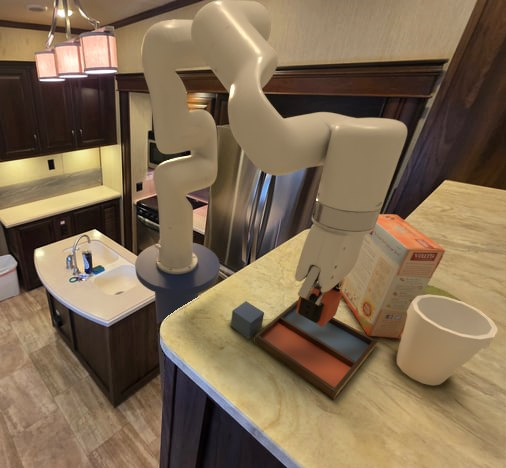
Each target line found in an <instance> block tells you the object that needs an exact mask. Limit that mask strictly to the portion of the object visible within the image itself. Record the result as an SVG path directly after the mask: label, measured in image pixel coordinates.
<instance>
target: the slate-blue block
mask: <svg viewBox="0 0 506 468" xmlns="http://www.w3.org/2000/svg"><path fill="white" fill-rule="evenodd" d="M264 316H265V312H264V311H263V310H262V309H260V308H259V307H256V306H255V305H253V304H252V303H250V302H248V301H246V300H245V301H244V302H242V303H240V304H239V305H238V306H237V307H235V308H233V310H232V311H231V322H230V327H231V328H233V329H235V330H236V331H237V332H239V333H240V334H241V335H242V336H244V337H245V338H247V339H250V338H251V337H253V335H256V334H257V333H258V332H259V331H261V330H262V329H263V328H262V327H263V321H264Z"/></svg>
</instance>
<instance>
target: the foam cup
mask: <svg viewBox="0 0 506 468" xmlns="http://www.w3.org/2000/svg"><path fill="white" fill-rule="evenodd" d="M498 331H499V329H498V327H497V326H496V324H495V322H494V320H493V319H492V318H490V317H489V316H488V315H487V314H485V313H484V312H483V311H481V310H480V309H478V308H476V307H474V306H472V305H470V304H468V303H466V302H463V301H462V300H460V301H458V300H455V299H452V298H448V297H445V296H438V295H430V294H427V295H421V296H417V297H416V298H415V299H414V300H413V301H412V302H411V304H410V306H409V308H408V310H407V319H406V323H405V327H404V330H403V332H402V334H401V337H400V342H399V345H398V349H397V354H396V358H395V361H396V365H397V367H398V368H399V369H400V370H401V372H402V373H404V374H405V375H406V376H408V378H410V379H412V380H414V381H416V382H419V383H421V384H425V385H428V386H439V385H442V384H443V383H444V382H446V381H447V380H448V379H449V378H450V377H452V376H453V374H455V373H456V372H457V371H458V370H459V369H460V368H461V367H463V366H464V365H465V364H466V363H467V362H469V361H470V360H471V359H473V357H474V356H476V355H477V354H478V353H479V352H480V351H481V350H483V349H486V348H487V347H488V346H489V344H490V343H491V342H492V340H493V339H494V337H495V336H496V334H497V333H498Z"/></svg>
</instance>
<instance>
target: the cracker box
mask: <svg viewBox="0 0 506 468" xmlns="http://www.w3.org/2000/svg"><path fill="white" fill-rule="evenodd" d="M446 251H447V250H446V249H445V248H443V247H442V246H441V245H440V244H438V243H436V242H435V241H434V240H432V239H431V238H429V236H427V235H425V234H424V233H423V232H421V231H420V230H418V229H417V228H416V227H414V226H413V225H411V224H410V223H409V222H407V221H406V220H405V219H403V218H402V217H400V216H399V215H398V214H393V213H390V214H389V213H385V214H384V213H380V214H379V217H378V219H377V222H376V225H375V228H374V230H373V231H372V232H370V233H368V234H365V236H364V240H363V243H362V247H361V250H360V253H359V256H358V259H357V261H356V263H355V266H354V268H353V269H352V271H351V272H350V273H349V274H348V275H347V276H346V277H345V278H344V280H343V283H342V285H341V287H340V288H339V289H340V292H339V293H342V297H343V299H344V301H345V302H346V303H347V306H348V307H349V308H350V310H351V311H352V313H353V315H354V317H355V318H356V320H357V321H358V323H359V324H360V325H361V327H362V329H363V331H364V332H365V333H366V335H367V336H369V337H377V338H387V339H388V338H389V339H397V340H398V339H401V337H402V334H403V330H404V327H405V323H406V319H407V310H408V308H409V306H410V304H411V302H412V301H413V300H414V299H415V298H416V297H417V296H421V295H423V293H424V291H425V289H426V287H427V285H429V284H430V281H431V279H432V278H433V276H434V274H435V272H436V271H437V268H438V266H439V265H440V263H441V261H442V259H443V258H444V255H445V253H446Z"/></svg>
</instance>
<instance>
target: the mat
mask: <svg viewBox="0 0 506 468" xmlns="http://www.w3.org/2000/svg"><path fill="white" fill-rule="evenodd" d="M427 294H430V295H438V296H445V297H448V298H452V299H455V300H458V301H461V299H460V298H459V297H457V296H456V295H453V294H451V293H450V292H448V291H446V290H444V289H442V288H439V287H436V286H434V285H430V284H428V285H427V287H426V289H425V291H424V293H423V295H427Z"/></svg>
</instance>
